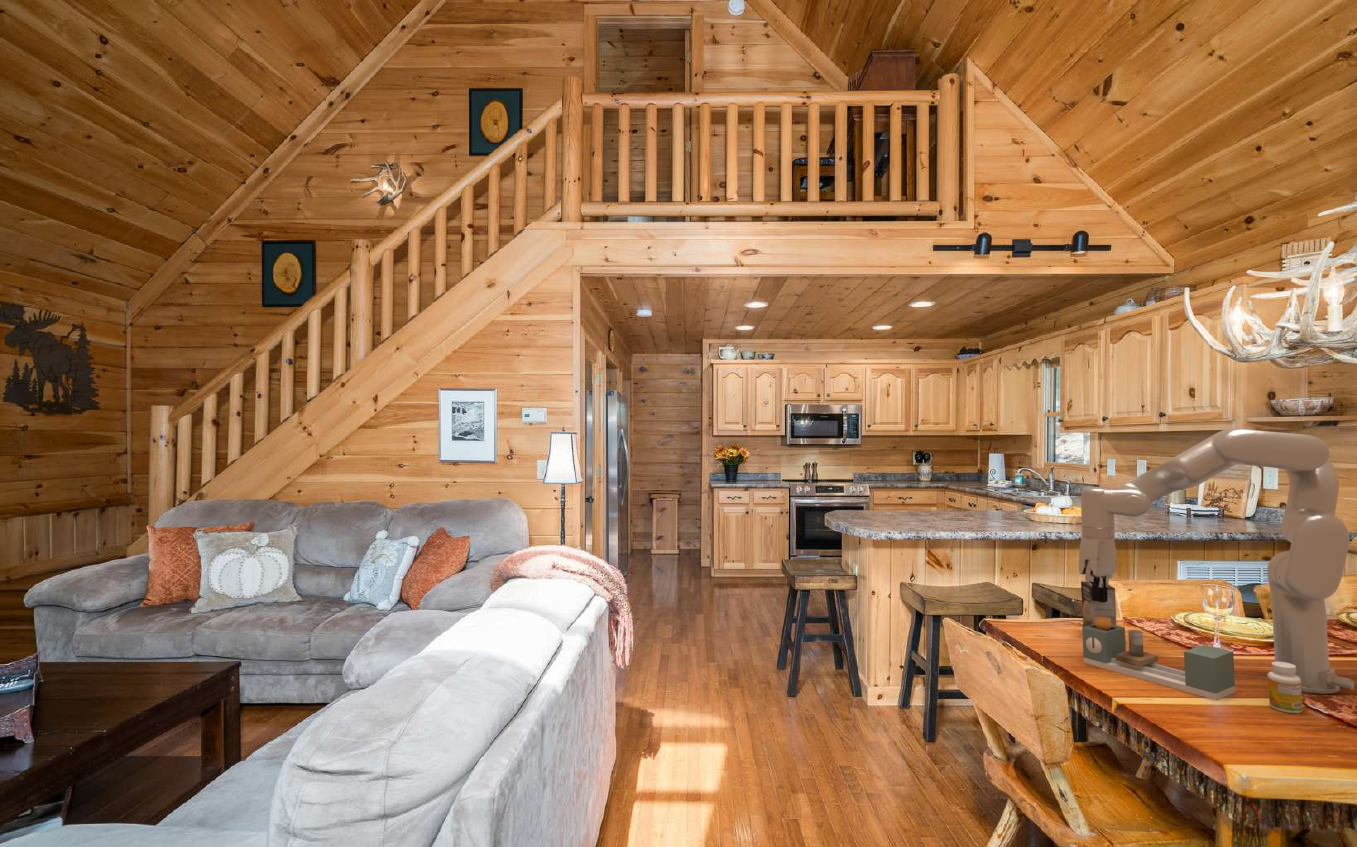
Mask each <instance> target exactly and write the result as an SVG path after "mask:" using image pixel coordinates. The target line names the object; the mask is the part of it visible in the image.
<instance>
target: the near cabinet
mask: <svg viewBox="0 0 1357 847" xmlns="http://www.w3.org/2000/svg"><path fill="white" fill-rule="evenodd" d="M1234 658H1235V657H1234V651H1233V650H1228V649H1225V648H1224V649H1223V648H1221V647H1220V648H1219V647H1215V646H1211V645H1206V644H1201V645H1198V646H1196V647H1192V648H1190V649H1188V650H1187V649H1186V650H1184V651H1183V659H1184V671H1185V682H1186V686H1190V687H1193V688H1197V689H1200V690H1204V691H1208V692H1211V693H1215V694H1216V693H1219V692H1221V691H1223V690H1226V689H1228V688H1231V687H1233V686H1235V687H1236V680H1235V678H1236V676H1235V659H1234Z"/></svg>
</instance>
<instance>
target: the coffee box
mask: <svg viewBox="0 0 1357 847" xmlns="http://www.w3.org/2000/svg"><path fill="white" fill-rule="evenodd" d="M1080 586H1081V587H1080V588H1081V591H1080V592H1081V609H1082V627H1086V626H1089V625H1093V624H1095V617H1096V616H1104V617H1109V618H1111V624H1112V625H1117V610H1116V609H1117V605H1116V602H1117V601H1116V588H1115V587H1113V586H1112V585H1110V584H1108V587H1107V598H1108V601H1107V602H1104V603H1102V602H1097V601H1093V600H1092V586H1091V585H1090V581H1086V580H1085V581H1080Z"/></svg>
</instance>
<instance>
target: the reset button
mask: <svg viewBox="0 0 1357 847" xmlns="http://www.w3.org/2000/svg"><path fill="white" fill-rule="evenodd" d="M1095 627H1096V629H1101V630H1105V631H1110V630H1111V618H1109V617H1104V616H1096V617H1095Z"/></svg>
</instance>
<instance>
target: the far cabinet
mask: <svg viewBox="0 0 1357 847" xmlns="http://www.w3.org/2000/svg"><path fill="white" fill-rule="evenodd" d="M1081 632H1082V634H1081V635H1082V651H1083V652H1082V653H1083V659H1084V658H1088V659H1092V660H1095V661H1099V662H1102V663H1106V664H1107V663H1110V662H1111V658H1115V655H1116V654H1119V653H1122V652H1125V651H1127V647H1126V646H1127V643H1126V628H1125V626H1121V625H1118V624H1116V625H1112V624H1111V630H1110V631H1105V630H1101V629H1096V627H1095V624H1093V625H1089V626H1086V627H1083V626H1082V627H1081Z"/></svg>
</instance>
